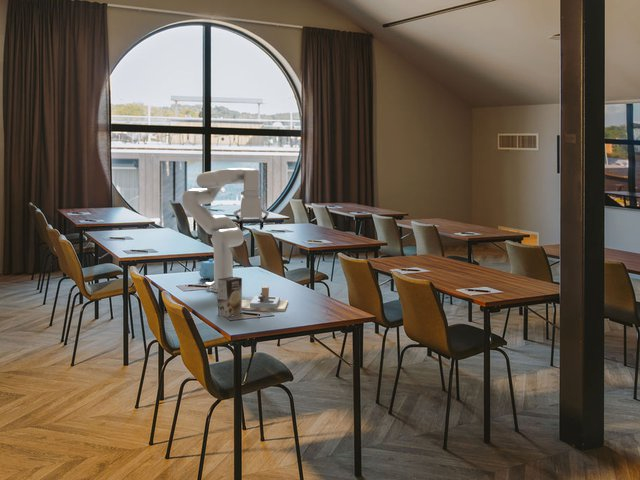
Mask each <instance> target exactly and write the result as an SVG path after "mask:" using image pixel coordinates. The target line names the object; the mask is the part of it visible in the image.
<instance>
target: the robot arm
mask: <svg viewBox="0 0 640 480" xmlns="http://www.w3.org/2000/svg"><path fill="white" fill-rule="evenodd" d="M195 181H196V184H197V187H199V188H192V189H191V188H190V189H188V190H186V191H184V192H183V194H182V196H181V198H182V199H181V200H182V201H181V202H182V205H183V207H184V209H185V212H186V213H187V214H189V216H190V217H192V218H193V220H195V221H196V223H197V224H198V225H199V226H200V228H202V229H203V230H204V231H205V233H206V234H208V235H212V236H211V244H212V248H213V249H212V250H213V261H214V280H213V281H212V282H211V281H209V282H208V281H206V282H205V287H210V291H211V292H212V293H213V292H214V293H218V279H221V278H227V277H234V275H233V274H234V271H233V270H234V269H233V268H234V266H233V265H234V262H233V261H234V259H233V257H234V256H233V252H232V251H231V249H230V248H231V247H232V248H233V247H239V246H241V245H242V244H243V243H244V242H245V236H244V233H243V231H242V230H243V228H244V224H243V223H244V221H243V219H245V218H246V219H249V218H250V219H251V218H252V219H253V218H254V219H257V218H258V219H259V220H260V222H259V230H260V231H261V230H263V228H264V221H265V220H267V218H268V216H269V215H270V212H269V211H267V210H266V209H264V208H262V207H263V205H262V199H261V197H260V171H259V169H257V168H246V167H241V168H240V167H237V168H236V167H234V168H232V167H230V168H223V169H218V170H212V171H205V172H201V173H200V174H198V176H197V177H196V180H195ZM234 184H235V185H236V184H243V191H241V192H240V195H242V197H241V202H240V208H239V209H237V210H235V211H234V212H233V214H234V216H235V218H236V219H237V220H238V222H239V223H238V225H239V226H238V225H237V224H236V223H235V222H234V220H232V219H231V217H229V216H227V215H215V214H212V213H211V211H209V209H207V207H205V206H203V205H210V204H211V203H213V202H214V201H215V199H216V197H217V195H218V194H219V193H220V191H221V189H222V188H223V187H225V186H226V185H234ZM238 213H240V216H239V215H238ZM263 214H264V216H263Z"/></svg>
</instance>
